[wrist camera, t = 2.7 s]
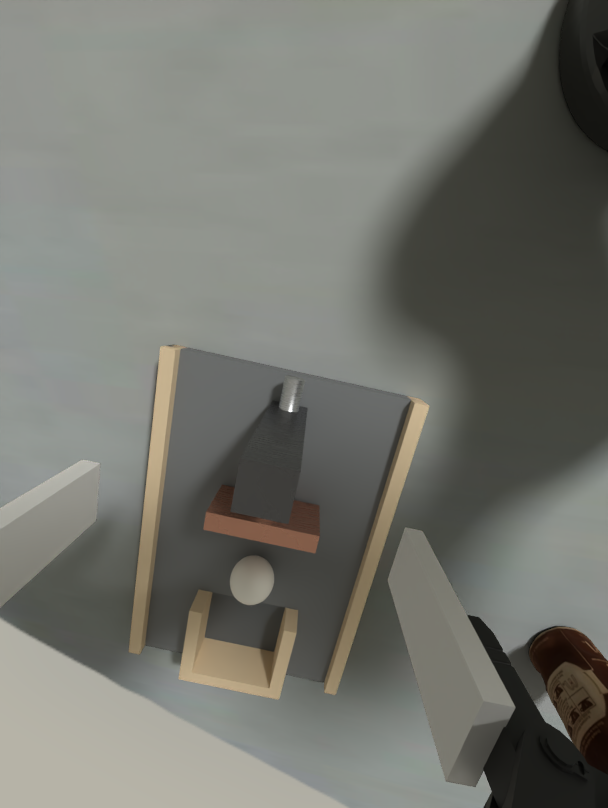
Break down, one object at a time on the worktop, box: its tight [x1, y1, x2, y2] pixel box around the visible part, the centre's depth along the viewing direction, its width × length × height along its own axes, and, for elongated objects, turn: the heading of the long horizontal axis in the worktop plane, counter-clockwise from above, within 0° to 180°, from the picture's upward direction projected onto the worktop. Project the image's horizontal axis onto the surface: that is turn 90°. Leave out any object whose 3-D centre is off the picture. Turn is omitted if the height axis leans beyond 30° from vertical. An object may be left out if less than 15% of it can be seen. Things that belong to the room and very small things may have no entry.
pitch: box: [129, 345, 429, 700], centre depth 31 cm, size 32×22×4 cm
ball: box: [230, 555, 274, 605], centre depth 30 cm, size 4×4×4 cm
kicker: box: [203, 376, 320, 553], centre depth 23 cm, size 14×9×12 cm, turn 168°
